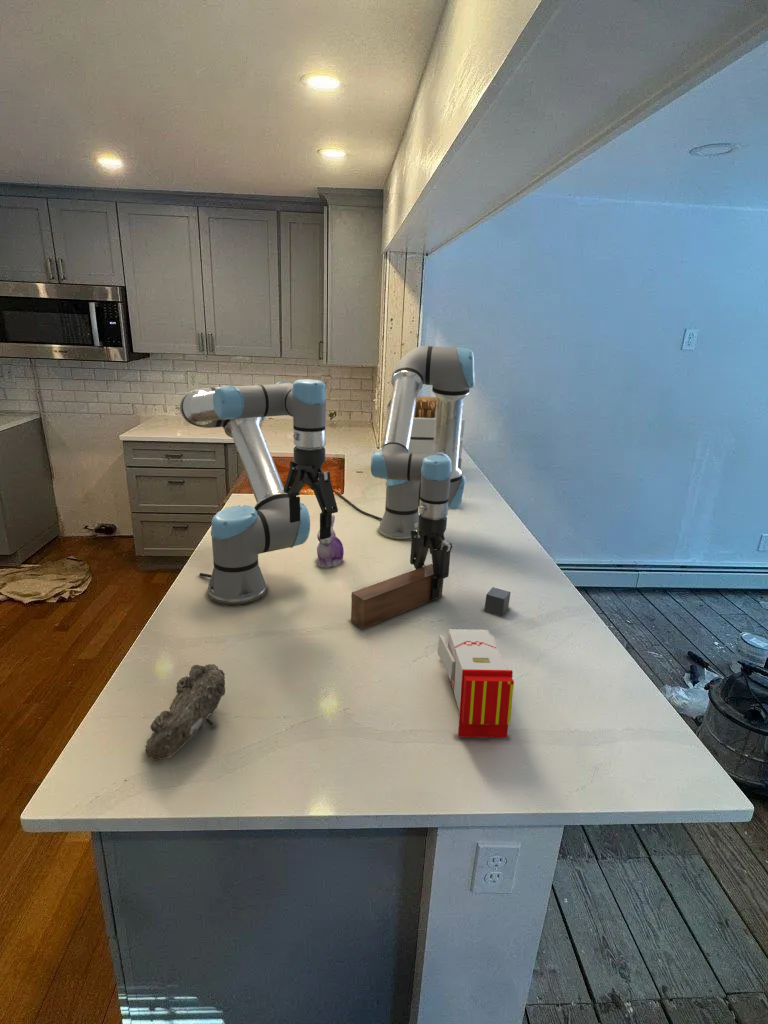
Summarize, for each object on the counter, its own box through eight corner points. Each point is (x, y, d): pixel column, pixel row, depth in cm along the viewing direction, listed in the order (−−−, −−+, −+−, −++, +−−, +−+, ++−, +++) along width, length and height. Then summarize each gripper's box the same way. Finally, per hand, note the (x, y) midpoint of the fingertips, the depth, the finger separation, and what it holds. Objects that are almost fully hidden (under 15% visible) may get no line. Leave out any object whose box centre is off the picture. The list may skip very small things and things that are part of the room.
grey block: (484, 610, 151) (486, 594, 149) (490, 603, 155) (492, 586, 153) (502, 616, 149) (504, 599, 147) (508, 608, 153) (510, 591, 151)
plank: (350, 620, 143) (351, 592, 141) (429, 589, 161) (431, 563, 158) (363, 628, 140) (364, 600, 137) (442, 596, 157) (444, 570, 154)
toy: (488, 613, 130) (523, 677, 101) (484, 667, 133) (517, 744, 104) (435, 612, 130) (455, 676, 101) (432, 666, 133) (451, 743, 103)
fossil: (174, 665, 116) (226, 633, 111) (207, 696, 118) (259, 665, 113) (119, 753, 96) (179, 718, 91) (161, 787, 99) (221, 755, 94)
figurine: (321, 571, 169) (321, 524, 164) (309, 557, 177) (309, 512, 172) (350, 565, 173) (351, 520, 168) (337, 553, 182) (338, 509, 177)
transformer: (382, 463, 289) (386, 382, 275) (445, 464, 293) (451, 384, 279) (390, 482, 257) (394, 392, 243) (460, 483, 261) (468, 394, 247)
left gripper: (268, 438, 141) (271, 517, 149) (326, 460, 124) (326, 549, 131) (294, 435, 146) (295, 512, 153) (354, 455, 128) (351, 542, 136)
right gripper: (399, 508, 153) (395, 585, 161) (448, 528, 140) (441, 611, 148) (419, 503, 157) (414, 578, 165) (468, 522, 144) (460, 603, 153)
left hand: (309, 529), depth 142 cm, fingers open, 13 cm apart
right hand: (426, 593), depth 157 cm, fingers closed on plank, 5 cm apart
